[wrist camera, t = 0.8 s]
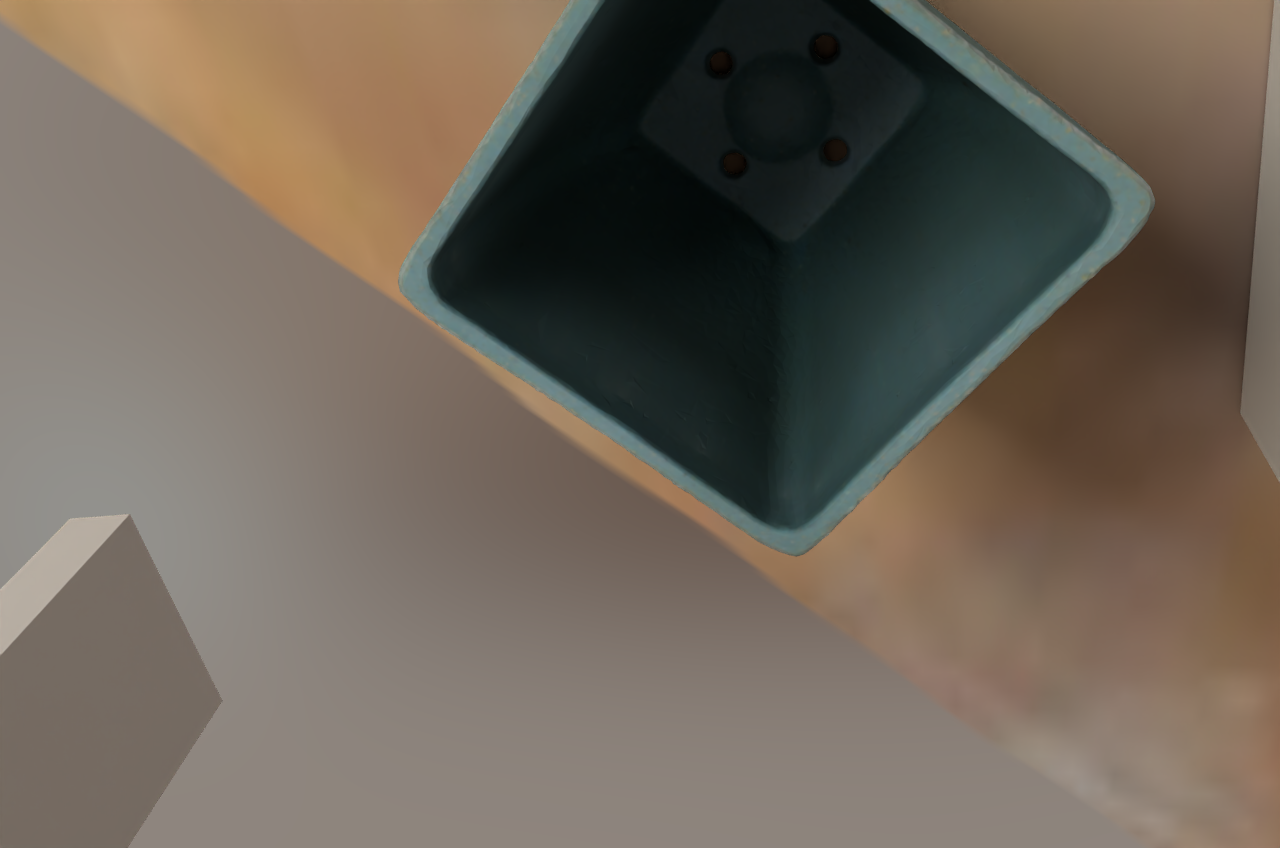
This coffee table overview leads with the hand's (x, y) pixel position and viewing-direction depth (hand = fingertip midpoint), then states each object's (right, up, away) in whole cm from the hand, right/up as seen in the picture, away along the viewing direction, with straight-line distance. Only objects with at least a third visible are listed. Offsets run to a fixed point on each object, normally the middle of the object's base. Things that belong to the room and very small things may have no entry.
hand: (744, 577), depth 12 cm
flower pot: (+2, +9, +14) cm, 17 cm away
